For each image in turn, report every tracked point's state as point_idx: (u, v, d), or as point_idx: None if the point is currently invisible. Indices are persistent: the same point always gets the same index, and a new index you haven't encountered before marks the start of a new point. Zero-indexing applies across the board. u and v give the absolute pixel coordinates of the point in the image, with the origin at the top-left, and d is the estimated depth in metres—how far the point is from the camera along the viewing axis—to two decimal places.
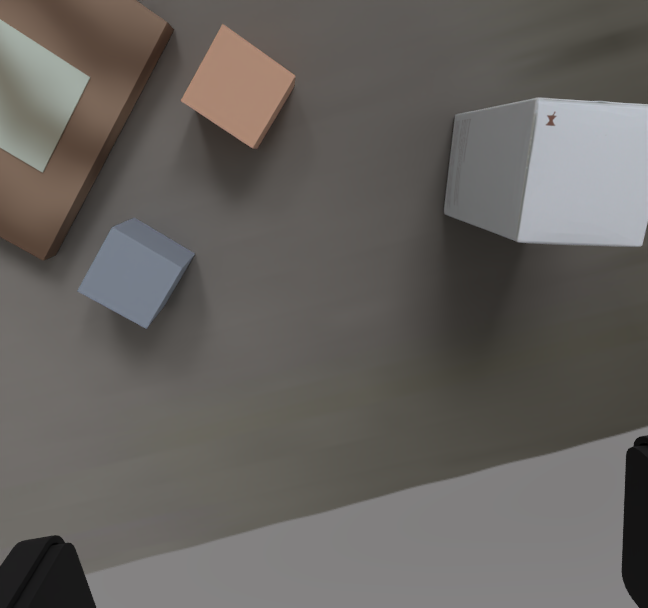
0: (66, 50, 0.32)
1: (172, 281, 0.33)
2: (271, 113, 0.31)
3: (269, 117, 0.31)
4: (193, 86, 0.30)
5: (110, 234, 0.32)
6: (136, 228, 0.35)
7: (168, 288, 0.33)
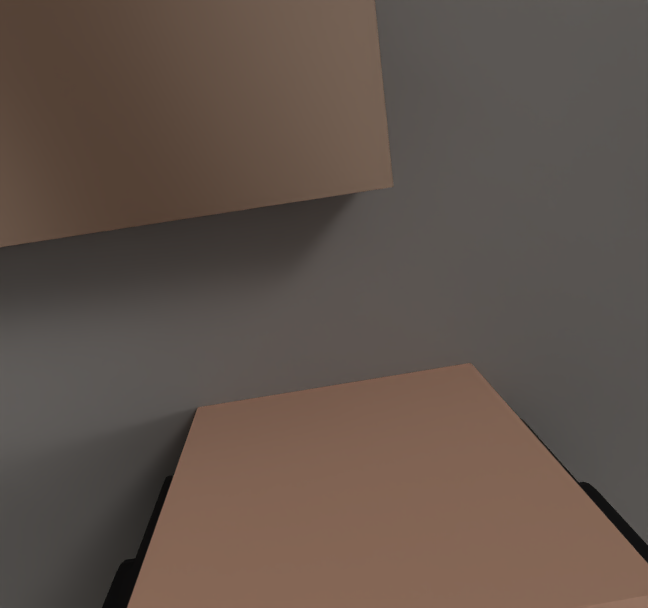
0: None
1: None
2: None
3: None
4: None
5: None
6: None
7: None
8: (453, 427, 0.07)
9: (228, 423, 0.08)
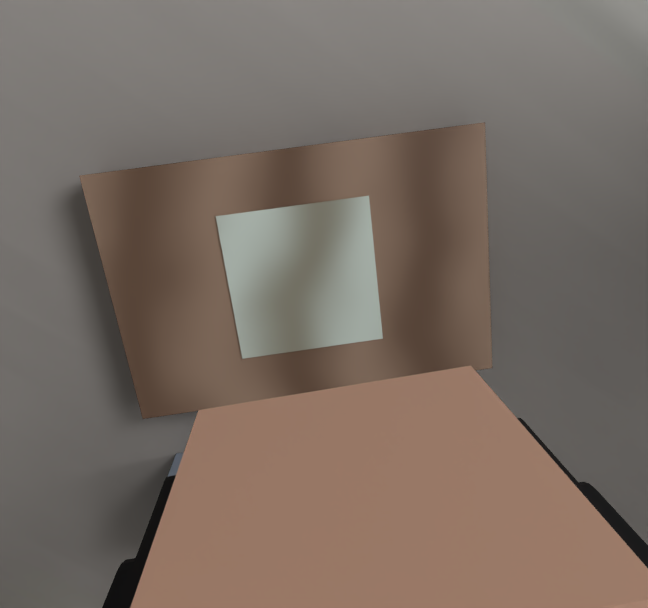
0: (391, 299, 0.24)
1: None
2: None
3: None
4: None
5: None
6: None
7: None
8: (453, 430, 0.07)
9: (229, 426, 0.08)
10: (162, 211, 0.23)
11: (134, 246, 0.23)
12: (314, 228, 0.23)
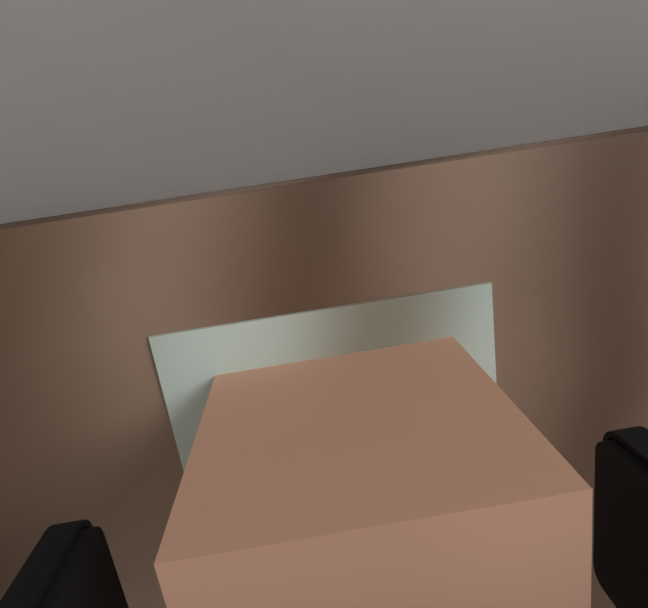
0: None
1: None
2: None
3: None
4: (257, 565, 0.06)
5: None
6: None
7: None
8: (434, 385, 0.09)
9: (243, 386, 0.10)
10: (25, 330, 0.10)
11: None
12: None
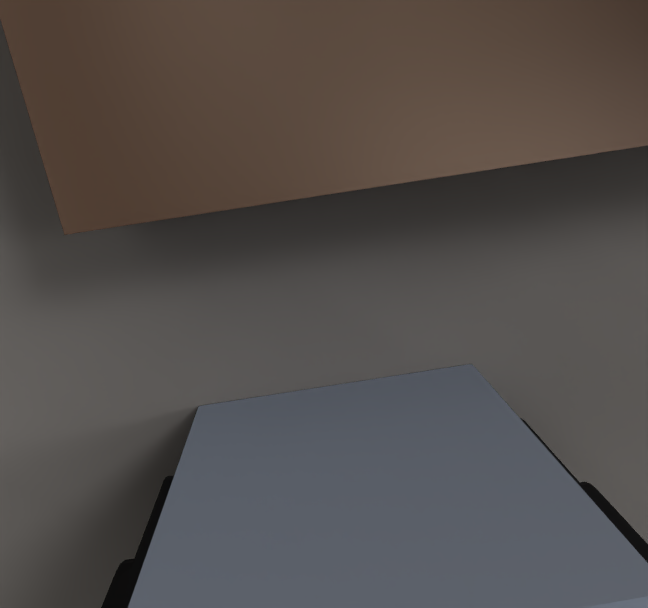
0: None
1: None
2: None
3: None
4: None
5: None
6: None
7: None
8: None
9: None
10: None
11: None
12: None
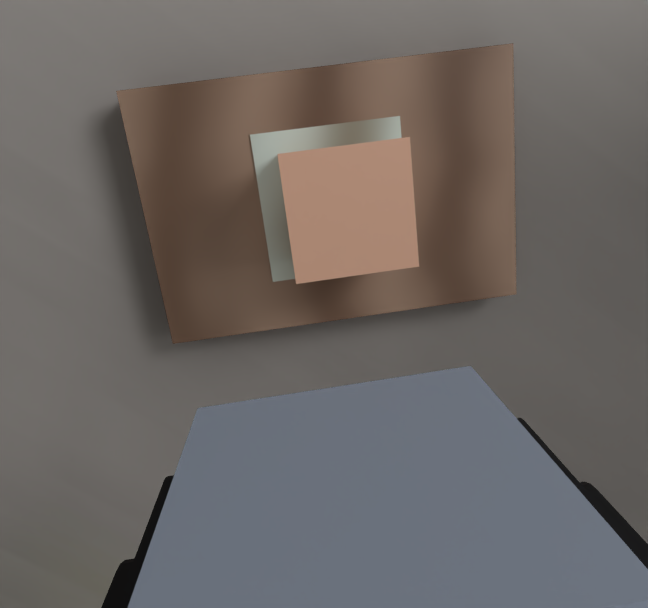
0: (419, 222, 0.25)
1: None
2: (354, 273, 0.20)
3: (348, 274, 0.20)
4: (308, 156, 0.19)
5: None
6: None
7: None
8: None
9: None
10: (197, 129, 0.23)
11: (168, 164, 0.23)
12: None
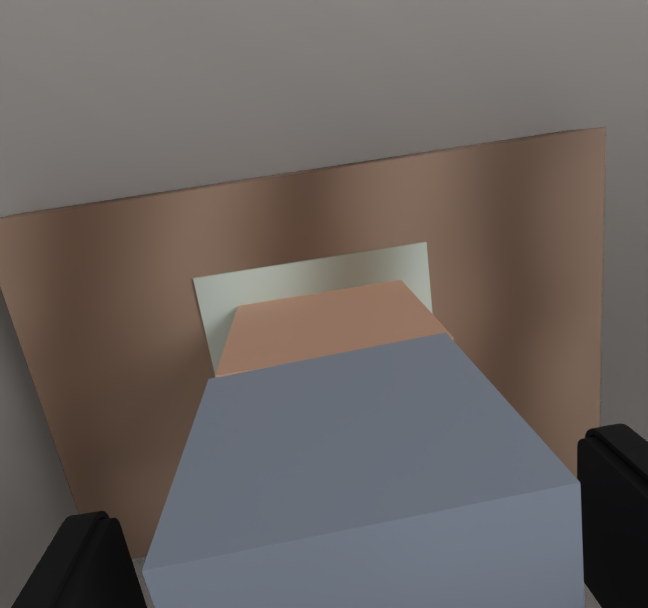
0: None
1: None
2: None
3: None
4: None
5: (537, 499, 0.06)
6: None
7: None
8: (382, 303, 0.13)
9: (257, 309, 0.14)
10: (110, 273, 0.15)
11: (69, 325, 0.15)
12: None
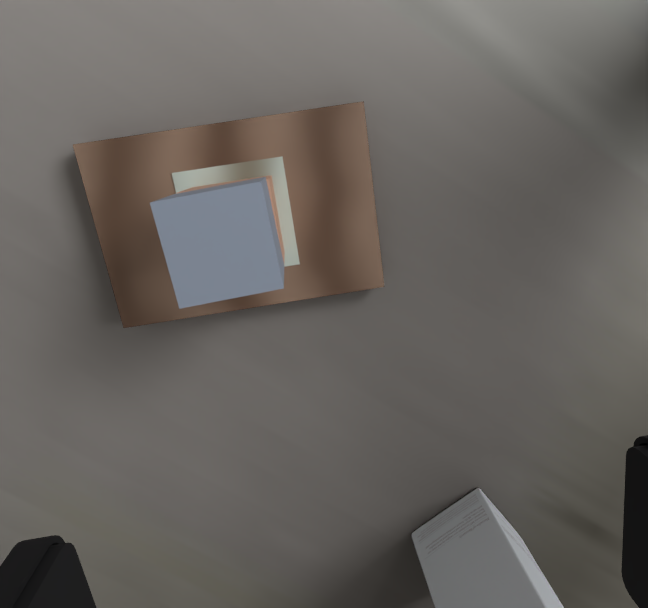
0: (304, 234, 0.33)
1: (259, 291, 0.24)
2: None
3: None
4: None
5: (250, 186, 0.22)
6: (267, 196, 0.25)
7: (247, 293, 0.24)
8: (254, 178, 0.30)
9: (201, 186, 0.31)
10: (132, 170, 0.31)
11: (113, 196, 0.32)
12: None
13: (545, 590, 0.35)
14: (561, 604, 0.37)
